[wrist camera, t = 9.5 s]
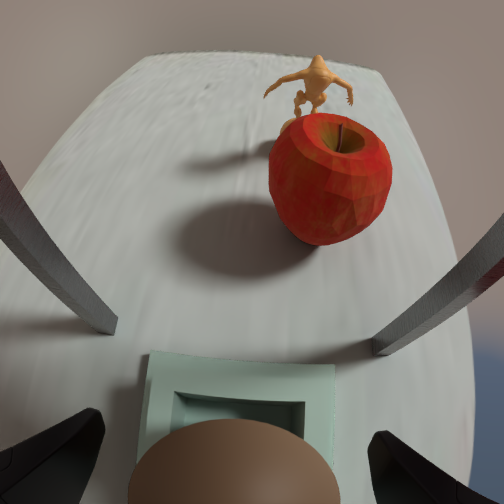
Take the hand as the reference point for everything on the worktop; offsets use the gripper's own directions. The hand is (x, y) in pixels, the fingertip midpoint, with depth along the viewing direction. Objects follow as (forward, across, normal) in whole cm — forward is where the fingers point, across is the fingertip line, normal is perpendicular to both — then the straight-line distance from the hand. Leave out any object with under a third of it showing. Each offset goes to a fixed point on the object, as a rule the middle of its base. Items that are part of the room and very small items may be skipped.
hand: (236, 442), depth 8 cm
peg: (+6, 0, +7) cm, 9 cm away
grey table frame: (+9, 0, +5) cm, 10 cm away
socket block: (+6, 0, +8) cm, 10 cm away
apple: (+18, -5, -4) cm, 20 cm away
